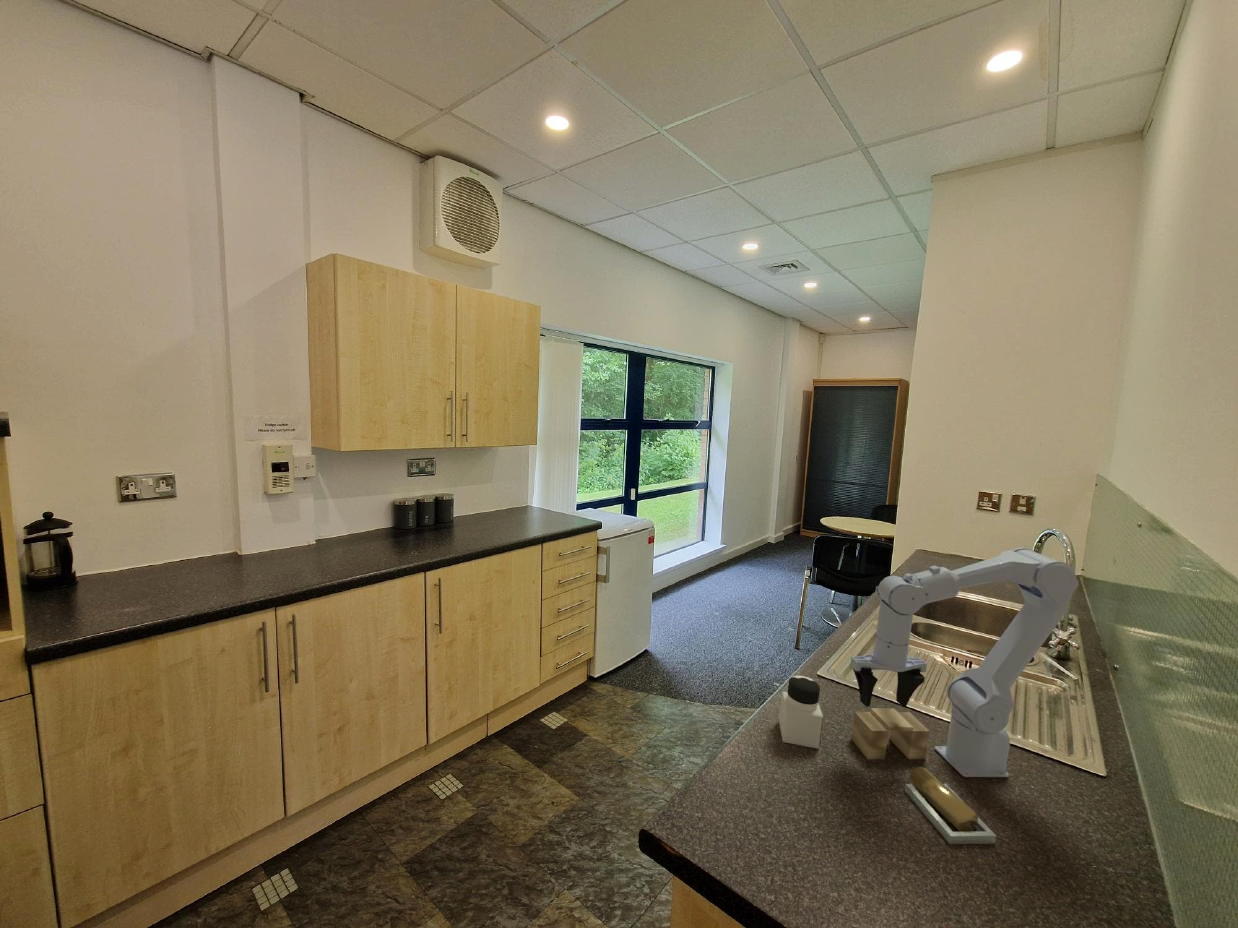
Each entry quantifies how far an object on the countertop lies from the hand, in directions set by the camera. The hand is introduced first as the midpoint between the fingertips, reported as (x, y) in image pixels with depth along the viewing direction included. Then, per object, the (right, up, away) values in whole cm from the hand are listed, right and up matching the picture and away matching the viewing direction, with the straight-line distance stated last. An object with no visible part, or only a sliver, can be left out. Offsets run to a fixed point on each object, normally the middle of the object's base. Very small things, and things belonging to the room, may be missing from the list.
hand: (883, 703), depth 98 cm
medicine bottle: (-15, -9, +5) cm, 18 cm away
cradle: (+4, -12, -13) cm, 18 cm away
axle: (+3, -12, -12) cm, 17 cm away
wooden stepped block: (+2, -10, +3) cm, 11 cm away
